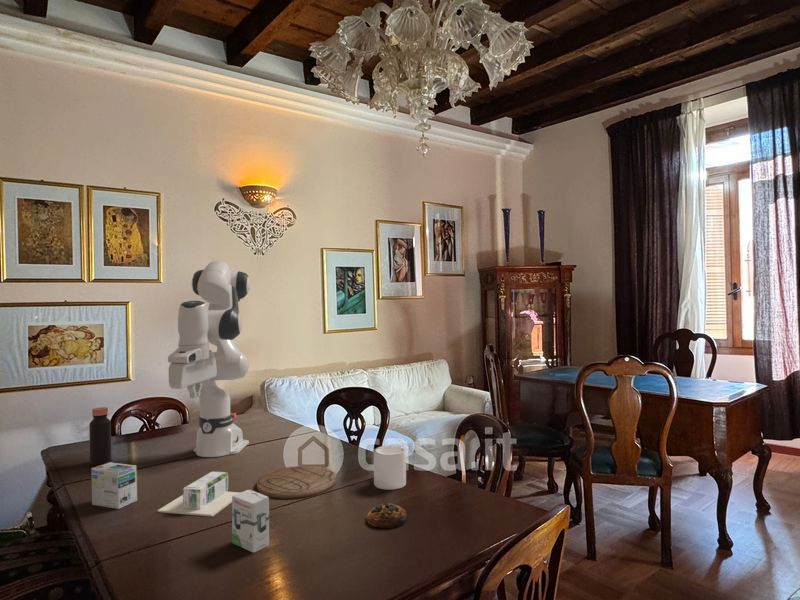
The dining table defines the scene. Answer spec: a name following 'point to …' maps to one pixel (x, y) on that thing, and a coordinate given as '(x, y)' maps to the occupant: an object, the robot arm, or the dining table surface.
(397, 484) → the mug
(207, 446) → the robot arm
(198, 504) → the syrup box
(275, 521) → the dining table surface
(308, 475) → the trivet
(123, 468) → the light bulb box
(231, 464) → the dining table surface
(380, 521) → the bread roll
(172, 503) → the mat
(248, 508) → the ink box
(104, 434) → the bottle
